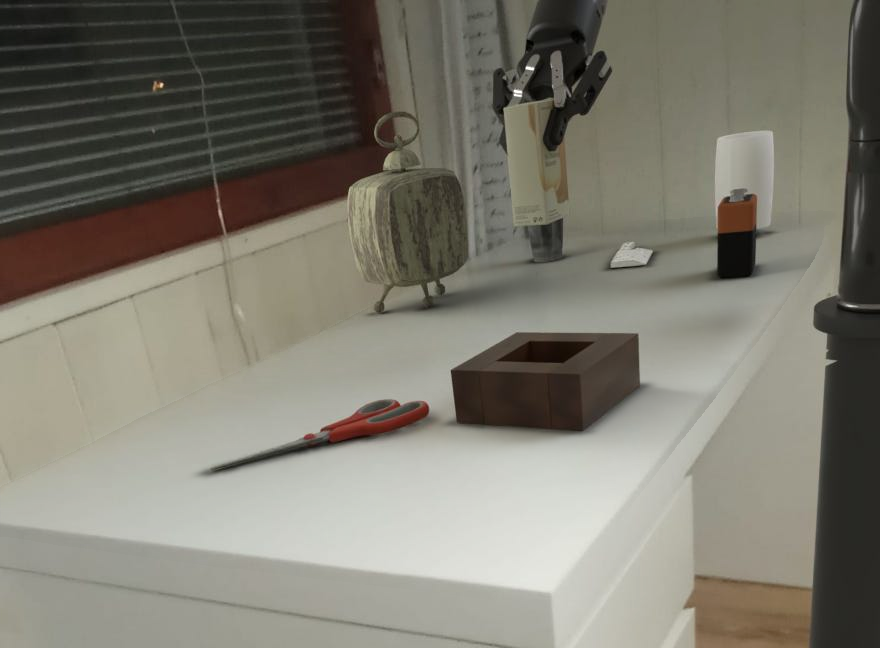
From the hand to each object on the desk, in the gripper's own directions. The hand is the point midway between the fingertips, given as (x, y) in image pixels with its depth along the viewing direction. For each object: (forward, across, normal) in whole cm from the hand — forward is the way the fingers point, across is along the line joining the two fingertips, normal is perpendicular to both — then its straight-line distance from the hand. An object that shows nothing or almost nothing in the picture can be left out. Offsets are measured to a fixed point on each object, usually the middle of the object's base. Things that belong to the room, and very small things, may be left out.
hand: (528, 148), depth 107 cm
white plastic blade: (-16, -7, +45) cm, 49 cm away
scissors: (+41, -4, -12) cm, 43 cm away
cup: (-26, +5, +55) cm, 61 cm away
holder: (+31, +12, -2) cm, 33 cm away
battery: (-8, +12, +37) cm, 40 cm away
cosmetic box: (+4, 0, +7) cm, 8 cm away
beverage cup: (-17, -22, +46) cm, 54 cm away
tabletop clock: (+4, -27, +24) cm, 37 cm away
